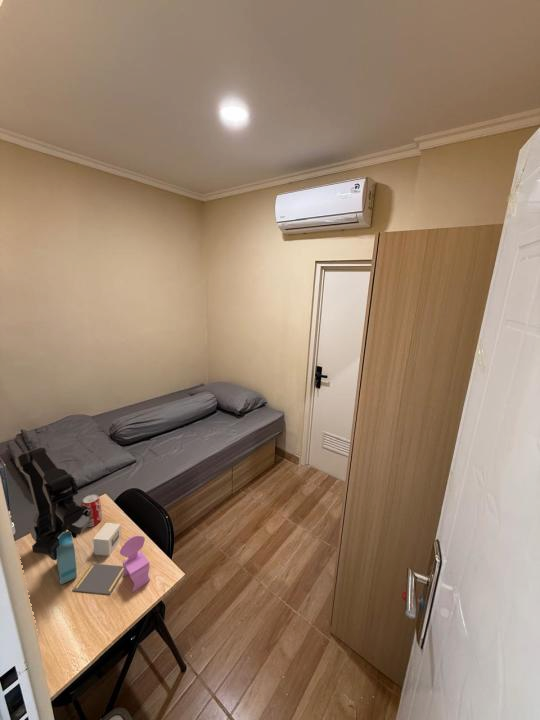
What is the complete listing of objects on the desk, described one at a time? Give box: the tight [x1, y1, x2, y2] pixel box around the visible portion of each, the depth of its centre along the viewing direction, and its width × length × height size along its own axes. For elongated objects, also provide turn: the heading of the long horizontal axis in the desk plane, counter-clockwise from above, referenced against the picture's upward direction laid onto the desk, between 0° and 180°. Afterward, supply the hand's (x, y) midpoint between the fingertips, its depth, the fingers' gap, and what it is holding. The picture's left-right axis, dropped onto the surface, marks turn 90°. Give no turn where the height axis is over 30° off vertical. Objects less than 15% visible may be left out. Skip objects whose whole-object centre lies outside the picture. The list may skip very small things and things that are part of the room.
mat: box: [71, 562, 125, 596], centre depth 99 cm, size 13×10×1 cm
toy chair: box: [119, 535, 151, 593], centre depth 99 cm, size 8×9×15 cm
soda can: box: [80, 493, 103, 528], centre depth 123 cm, size 7×7×12 cm
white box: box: [92, 522, 122, 557], centre depth 112 cm, size 6×8×7 cm
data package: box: [56, 530, 78, 586], centre depth 101 cm, size 12×4×12 cm, turn 42°
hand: (65, 548), depth 100 cm, fingers open, 9 cm apart
